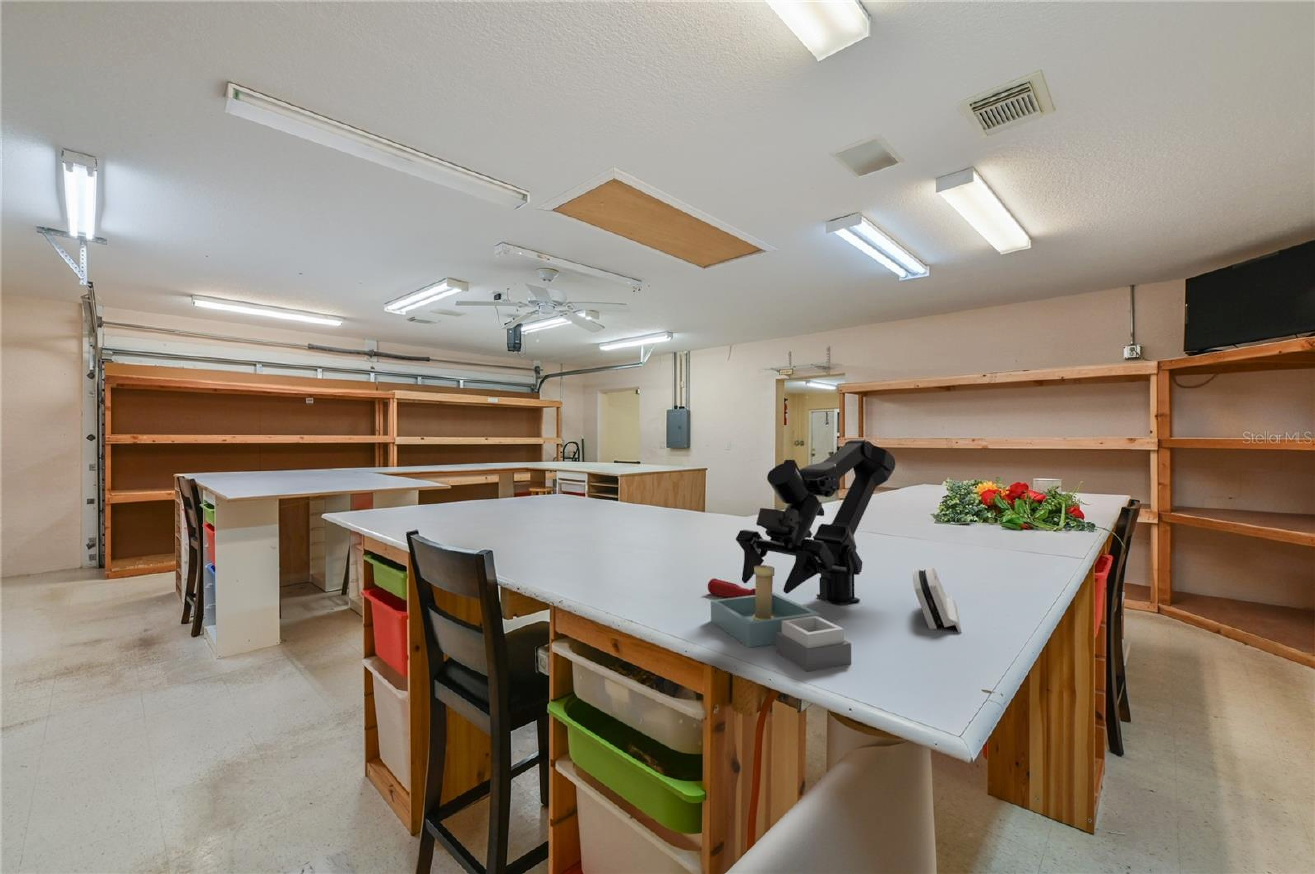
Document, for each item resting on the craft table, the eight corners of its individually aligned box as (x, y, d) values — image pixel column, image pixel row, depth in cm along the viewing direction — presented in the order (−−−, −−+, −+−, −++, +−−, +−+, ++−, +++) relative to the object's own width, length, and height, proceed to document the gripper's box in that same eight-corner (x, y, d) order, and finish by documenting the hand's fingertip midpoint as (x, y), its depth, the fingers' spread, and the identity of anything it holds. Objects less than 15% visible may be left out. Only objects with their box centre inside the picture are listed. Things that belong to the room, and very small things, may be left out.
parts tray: (774, 612, 103) (774, 592, 103) (820, 635, 89) (820, 613, 90) (711, 620, 98) (710, 600, 98) (749, 647, 85) (749, 624, 85)
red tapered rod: (805, 622, 97) (805, 603, 97) (706, 595, 115) (706, 579, 115) (815, 618, 99) (815, 600, 99) (716, 592, 118) (716, 576, 118)
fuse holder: (817, 644, 86) (816, 614, 86) (851, 663, 78) (850, 629, 78) (775, 651, 83) (775, 620, 83) (807, 671, 75) (806, 637, 75)
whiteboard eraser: (962, 633, 90) (938, 576, 92) (933, 638, 92) (911, 583, 94) (956, 606, 105) (936, 558, 107) (931, 611, 107) (912, 564, 109)
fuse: (771, 620, 95) (772, 565, 95) (775, 627, 92) (776, 570, 92) (751, 619, 95) (752, 565, 96) (754, 626, 92) (755, 569, 92)
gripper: (740, 489, 105) (703, 552, 97) (824, 495, 91) (788, 569, 83) (765, 524, 110) (731, 586, 102) (848, 535, 96) (816, 608, 88)
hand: (763, 586), depth 94 cm, fingers open, 9 cm apart
